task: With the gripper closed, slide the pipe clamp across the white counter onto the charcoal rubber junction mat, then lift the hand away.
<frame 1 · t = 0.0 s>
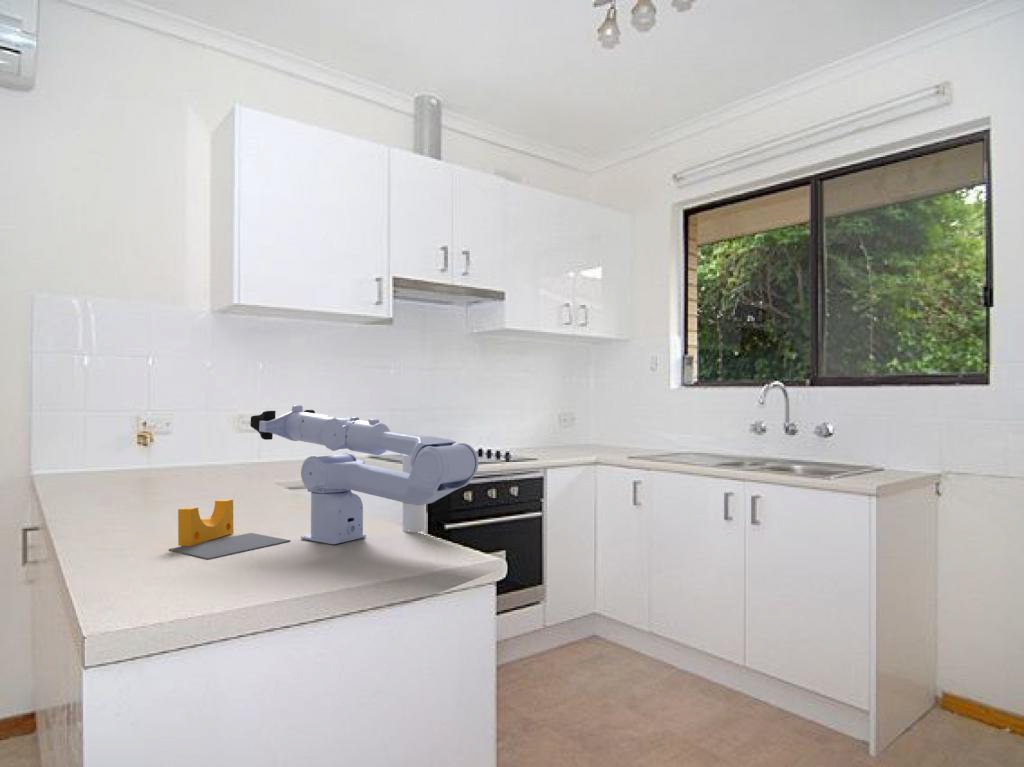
hand: (268, 420, 133), 22 cm above the counter, tool horizontal, fingers open, 7 cm apart
pipe clamp: (203, 540, 120), on the counter, touching junction mat
tube: (413, 531, 129), on the counter
junction mat: (231, 545, 115), on the counter
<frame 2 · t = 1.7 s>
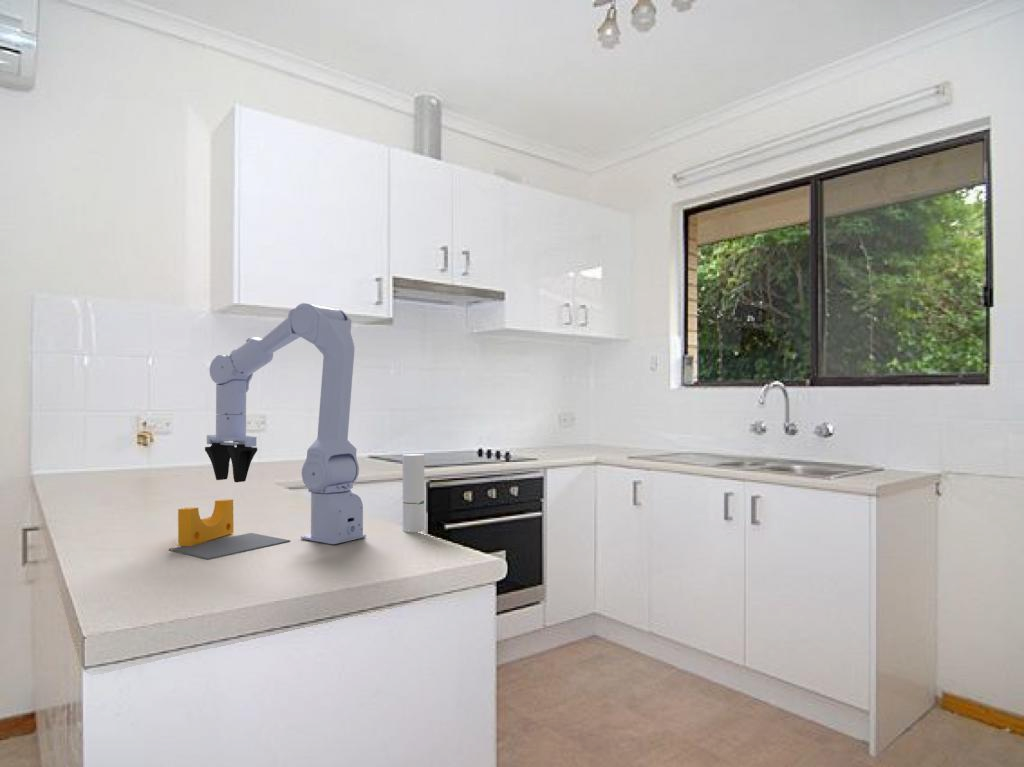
hand: (230, 480, 133), 9 cm above the counter, tool pointing down, fingers open, 6 cm apart
nothing on the counter moved.
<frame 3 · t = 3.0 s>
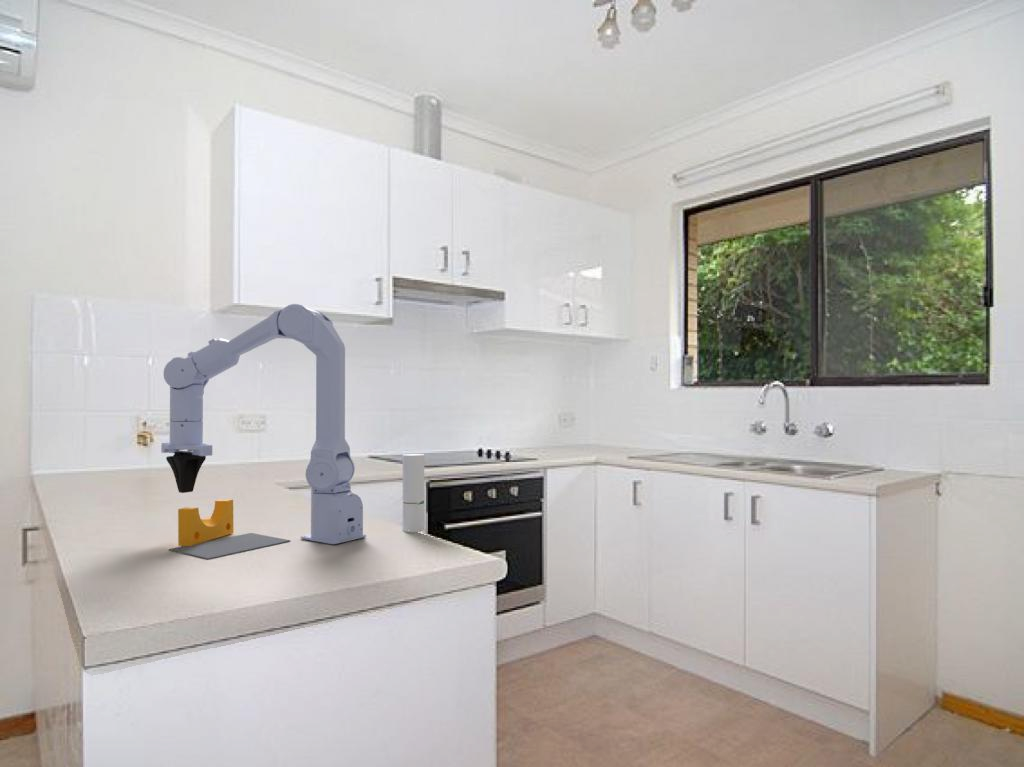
hand: (185, 492, 124), 8 cm above the counter, tool pointing down, fingers closed
nothing on the counter moved.
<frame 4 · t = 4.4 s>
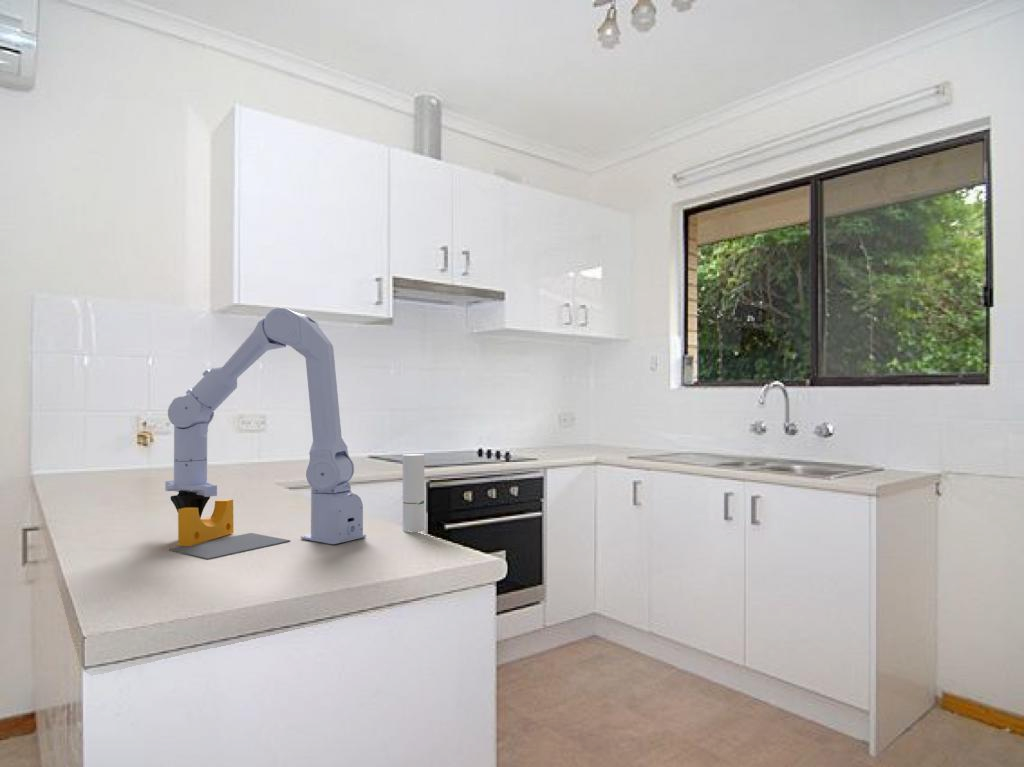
hand: (190, 531, 123), 1 cm above the counter, tool pointing down, fingers closed
pipe clamp: (203, 540, 120), on the counter, touching gripper, junction mat
everything else where it was.
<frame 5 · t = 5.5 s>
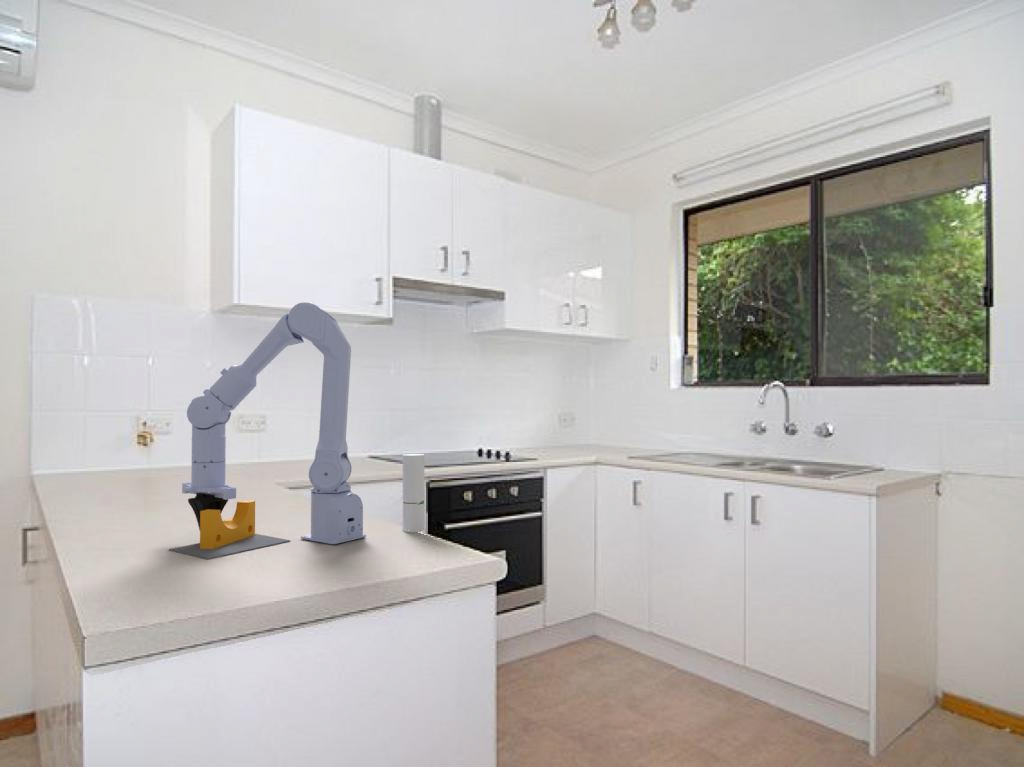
hand: (208, 535, 120), 1 cm above the counter, tool pointing down, fingers closed
pipe clamp: (224, 542, 118), resting on junction mat, touching gripper
everything else where it was.
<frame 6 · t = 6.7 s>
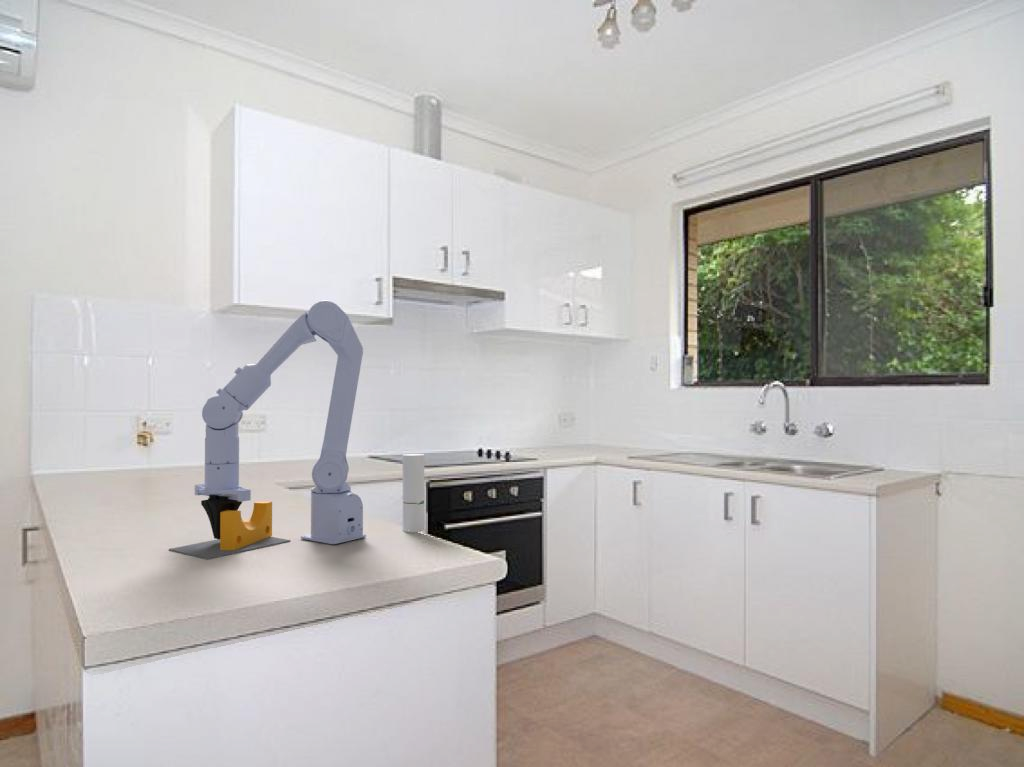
hand: (221, 537, 117), 1 cm above the counter, tool pointing down, fingers closed
pipe clamp: (242, 543, 117), resting on junction mat
everything else where it was.
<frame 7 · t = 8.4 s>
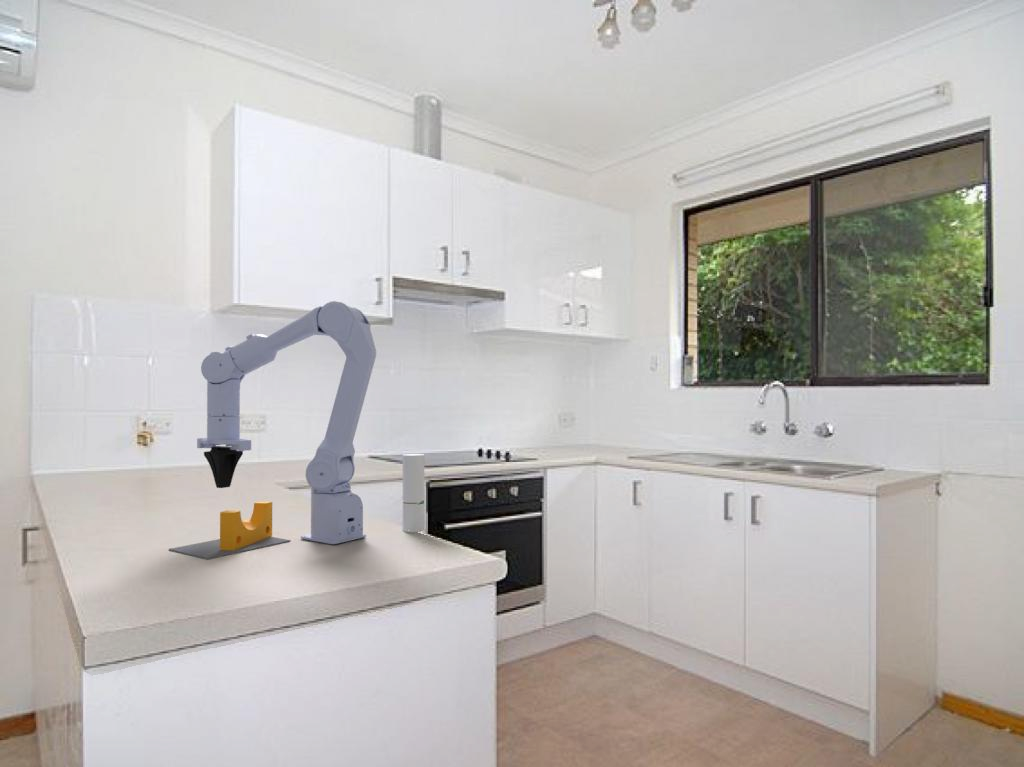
hand: (223, 487, 123), 9 cm above the counter, tool pointing down, fingers closed
nothing on the counter moved.
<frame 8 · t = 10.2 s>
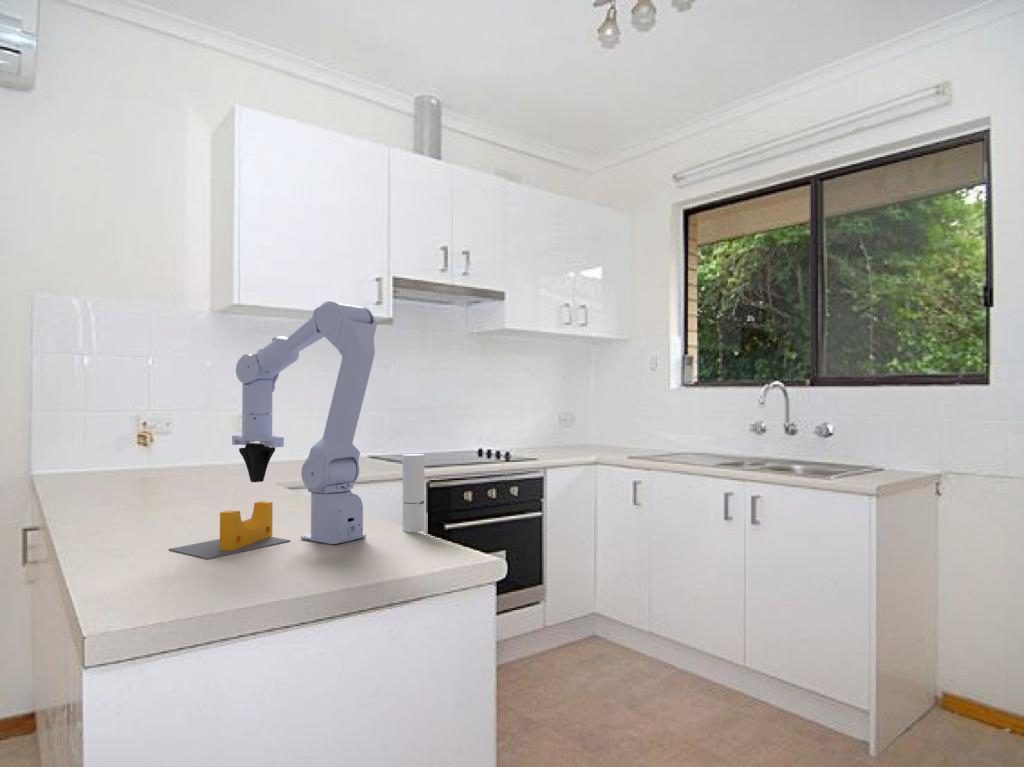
hand: (257, 481, 131), 9 cm above the counter, tool pointing down, fingers closed
nothing on the counter moved.
at the end: pipe clamp inside the target area on the junction mat (2.1 cm from its centre), point 0.0 cm above the junction mat's base; pipe clamp tilted 0°; pipe clamp moved 9.5 cm from its start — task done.
